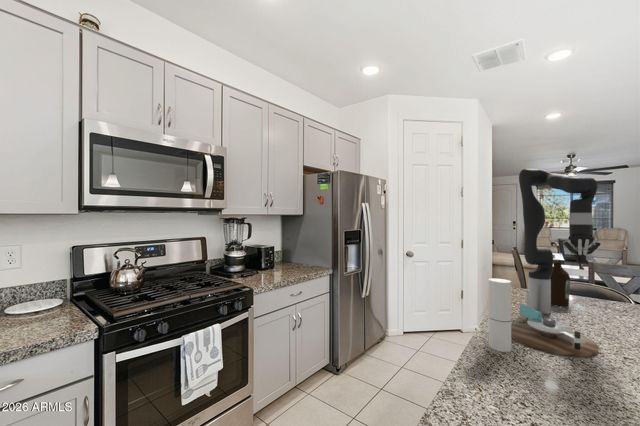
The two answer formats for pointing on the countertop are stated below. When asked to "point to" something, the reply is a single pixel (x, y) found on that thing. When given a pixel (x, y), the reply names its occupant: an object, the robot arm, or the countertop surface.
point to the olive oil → (559, 285)
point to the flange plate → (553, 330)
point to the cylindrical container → (500, 314)
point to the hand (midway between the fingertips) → (581, 263)
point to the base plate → (552, 342)
